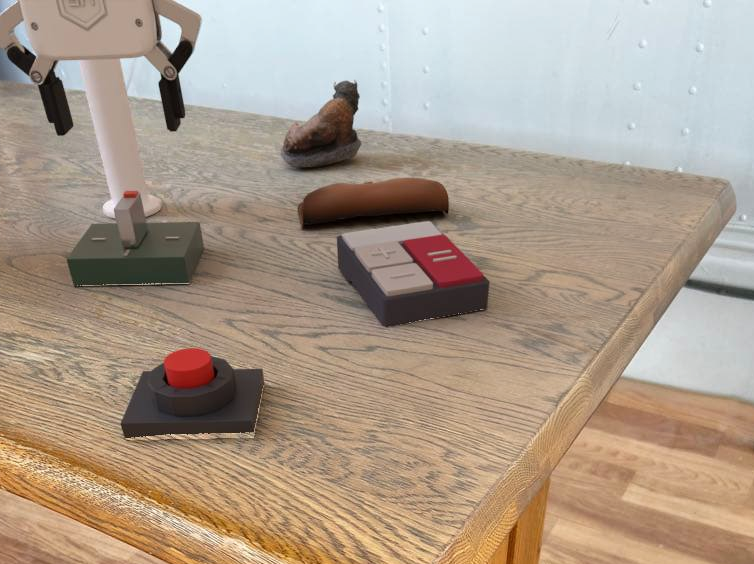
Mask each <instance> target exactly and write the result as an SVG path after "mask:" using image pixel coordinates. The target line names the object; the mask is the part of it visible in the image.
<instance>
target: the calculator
mask: <svg viewBox="0 0 754 564" xmlns="http://www.w3.org/2000/svg"><path fill="white" fill-rule="evenodd" d="M336 250H337V251H336V252H337V268H338V270H339V271H340V273H341V274H342V276H343V277H344V279H345V280H346V281H347V282H348V283H352V285H353V286H354V288H355V289H356V290H357V292H358V293H359V294H360V296H361V298H362V299H363V300H364V301H365V303H366V305H367V306H368V307H369V308H370V310H371V311H372V313H373V314H374V316H375V317H376V318H377V320H378V321H379V323H380V324H381V325H382V326H383V327H384V326H385V327H384V328H390V327H389V326H392V327H396V325H398V326H401V325H400V324H403V325H407V324H406V323H409V322H415V321H419V320H424V319H430V318H437V317H443V316H448V315H453V314H458V313H459V315H461V314H460V313H465V312H470V311H475V310H480V309H485V310H487V309H488V304H489V303H488V302H489V291H490V280H489V279H488V278H487V277H486V276H485V275H484V273H483V272H482V271H481V270H480V269H479V268H478V267H477V266H476V265H475V264H474V263H473V262H472V261H471V260H470V259H469V258H468V256H467V255H466V254H464V253H463V252H462V250H461V249H460V248H458V246H456V244H455V243H454V242H452V240H451V239H450V238H449V237H448V236H447V235H446V234H444V233H443V232H442V231H441V230H440V229H439V228H438V227H437V225H436V224H434V223H433V222H431V221H430V220H427V221H426V220H425V221H420V222H413V223H406V224H399V225H391V226H385V227H384V226H383V227H380V228H379V227H378V228H371V229H363V230H358V231H357V230H356V231H352V232H344V233H342V234H340V235H337V236H336ZM486 308H487V309H486ZM470 313H471V312H470ZM465 314H466V313H465ZM448 317H449V316H448ZM443 318H444V317H443ZM437 319H438V318H437ZM415 323H416V322H415ZM409 324H410V323H409Z"/></svg>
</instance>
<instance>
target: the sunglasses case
mask: <svg viewBox="0 0 754 564" xmlns="http://www.w3.org/2000/svg"><path fill="white" fill-rule="evenodd" d="M449 199H450V198H449V194H448V191H447V189H446V187H445V186H444V184H442V183H441V182H439V181H437V180H431V179H427V178H422V177H421V178H420V177H396V178H391V179H386V180H383V181H376V182H373V181H364V182H363V183H347V182H339V183H331V184H328V185H325V186H322V187H320V188H316V189H314V190H312V191H310V192H308V193H307V194H306V195H305V196H304V198H303V199H302V202H300V203H298V206H297V213H298V217H299V223H300V227H301V229H303V228H304V227H305V228H306V225H316V224H321V223H328V222H335V221H339V220H342V219H343V220H348V219H352V218H357V217H373V216H374V217H377V216H385V215H393V214H397V215H399V214H404V215H405V214H412V213H413V214H414V213H424V212H427V213H428V212H444V213H445V214H446V215H447V216H448V215H449V209H450V207H449V205H450V200H449Z"/></svg>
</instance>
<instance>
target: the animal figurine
mask: <svg viewBox="0 0 754 564" xmlns="http://www.w3.org/2000/svg"><path fill="white" fill-rule="evenodd" d="M353 81H354V82H351V81H349V80H342V81H340V82H338V83H336V81H334V82H333V89H334V91H335V92H334V93H333V94H332V98H331V99H330V100H328V101H327V102H326V103H325V104H323V105H322V107H320V109H319V110H318V112H316V114H314V115H313V116H311V117H310V118H309V119H308V120H307V121H306V122H305V124H299V123H298V122H296V121H295V122H293V123H292V124H291V125H290V128H289V129H288V131H287V133H286V134H285V136H284V140H283V145H282V146H281V148H280V151H279V152H280V156H281V158H282V160H283V161H284V162H285V163H286V164H287V165H289V166H290V167H293V168H317V167H323V166H327V165H332V164H334V163H338V162H341V161H345V160H347V159H350V158H353V157H355V156H357V155H358V152H359V150H360V148H361V146H362V141H361V139H360V138H359V137H358V133H357V131H356V130H355V129H354V121H355V115H356V113H357V112H358V110H359V99H360V98H361V96H360V93H359V91H358V82H357V80H356V79H353Z"/></svg>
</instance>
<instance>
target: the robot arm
mask: <svg viewBox="0 0 754 564" xmlns="http://www.w3.org/2000/svg"><path fill="white" fill-rule="evenodd" d="M160 16H161V17H163V18H166V19H167V20H169V21H171V22H173V23H175V24H177V25H178V27H180V29H181V34H180V38H179V41H178V44H177V46H176V47H175V49H174V51H171V50H170V49H169V48H168V47H167V46H166V45H165V44H164V43H163V42H162V37H163V35H162V34H163V32H162V31H163V29H162V24H161V18H160ZM202 18H203V17H202V16H201V15H200V14H199V13H197V11H194V10H192V9H190V8H189V7H186V6H184V5H183V4H182V3H179V2H177V1H176V0H16V1H15V2H14V3H12V4H11V5H9V7H7V8H6V9H4V10H3V11H2V12H1V13H0V48H1V50H2V51H4V52H5V54H6V56H7V59H8V60H9V62H10V63H12V64H13V65H14V66H16V67H17V68H18V69H19V70H20V71H22V72H23V73H24V74H25V75H26V76H27V77H29V80H30V81H31V82H32V83H33V84H34V85H36V86H37V89H38V92H39V94H40V98H41V101H42V105H43V109H44V112H45V116H46V120H47V122H48V123H49V124H53V127H54V130H55V133H56V135H57V136H58V137H63V136H66V135H67V134H68V133H69V132H70V130H72V129H73V128H74V121H73V116H72V112H71V109H70V106H69V102H68V98H67V94H66V91H65V87H64V83H63V80H62V79H60V77H59V76H57V75H56V72H55V70H56V69H57V66H58V65H59V62H60V61H78V60H97V59H120V60H121V59H122V60H123V59H136V58H137V59H138V58H141V57H144V58H145V59H146V60H147V61H148V62H149V63H150V64H151V65H152V66H153V67H154V68H155V69H156V70H157V71H158V72H159V73H160V79H159V81H158V83H157V84H158V89H159V94H160V95H159V96H160V101H161V104H162V110H163V114H164V119H165V120H164V121H165V124H166V130H167V131H169V132H170V133H171V132H177V131H178V129H179V128H180V126H181V124H182V122H181V121H182V120H181V119H185V118H186V109H185V103H184V98H183V97H184V96H183V91H182V86H181V81H180V75H179V74H180V72H181V71H182V70H183V68H184V66H185V65H187V62H188V61H189V59H190V58H191V57H192V55H193V53H194V52H195V48H196V44H197V41H198V38H199V34H200V31H201V28H202V23H203V19H202ZM22 23H24V26H25V31H26V34H27V37H28V41H29V43H30V46H31V48H32V50H33V51H34V53H35V54H36V55H35V54H34V53H33V52H32V51H30V49H28V48H27V47H26V46H24V45H23V44H22V43H21V42H20V41H19V38H18V37H17V36H16V34H15V29H16V27H18V26H19V25H20V24H22Z"/></svg>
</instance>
